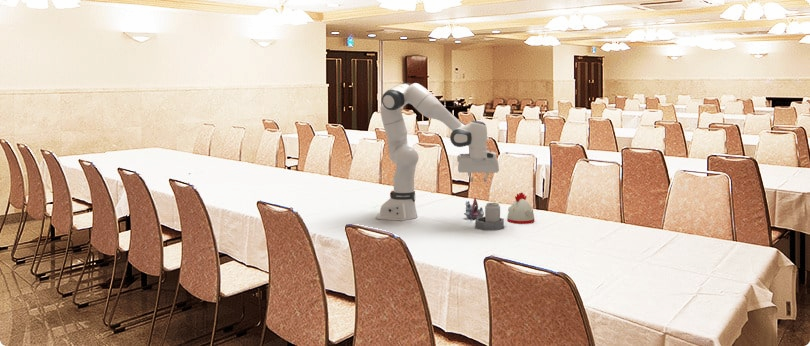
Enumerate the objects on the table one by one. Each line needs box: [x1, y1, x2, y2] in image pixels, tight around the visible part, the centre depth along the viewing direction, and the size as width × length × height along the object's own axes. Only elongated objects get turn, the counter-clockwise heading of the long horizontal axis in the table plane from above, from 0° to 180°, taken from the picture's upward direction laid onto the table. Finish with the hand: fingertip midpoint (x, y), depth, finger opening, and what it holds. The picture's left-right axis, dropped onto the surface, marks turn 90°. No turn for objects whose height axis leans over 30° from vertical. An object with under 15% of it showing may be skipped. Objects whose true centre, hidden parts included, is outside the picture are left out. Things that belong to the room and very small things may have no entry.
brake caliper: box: [463, 197, 485, 220], centre depth 349 cm, size 11×11×12 cm
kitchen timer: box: [506, 192, 535, 225], centre depth 338 cm, size 14×14×15 cm
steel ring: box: [474, 216, 505, 231], centre depth 328 cm, size 14×14×4 cm
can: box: [484, 202, 501, 222], centre depth 327 cm, size 8×8×12 cm
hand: (478, 181), depth 325 cm, fingers open, 5 cm apart
